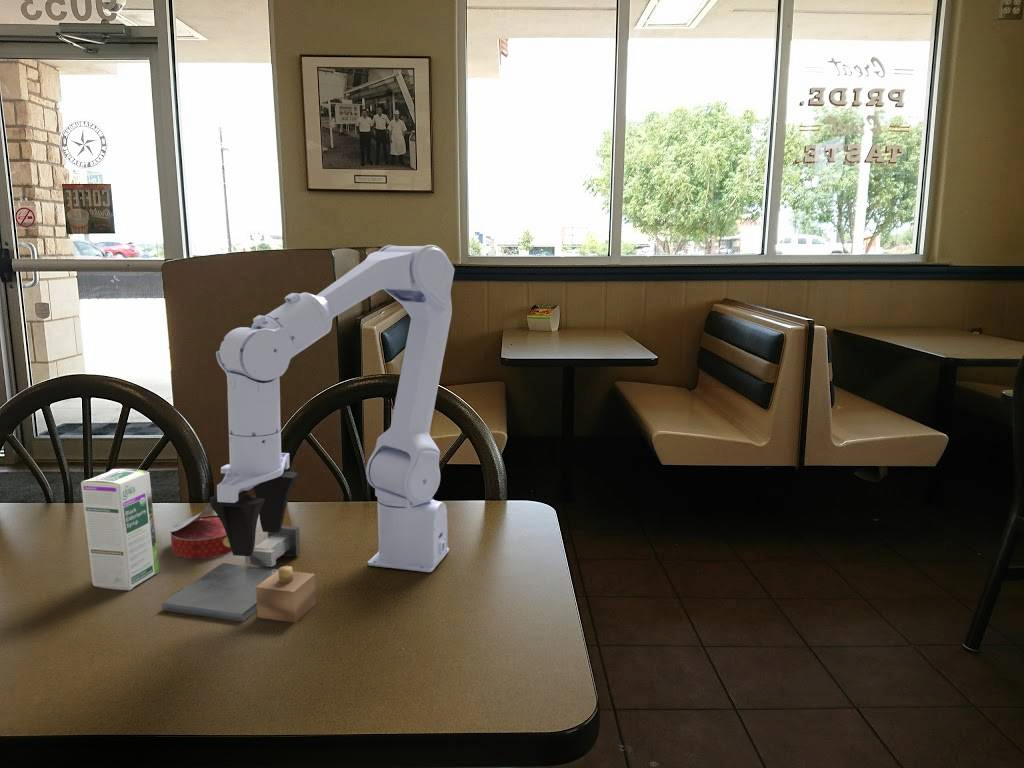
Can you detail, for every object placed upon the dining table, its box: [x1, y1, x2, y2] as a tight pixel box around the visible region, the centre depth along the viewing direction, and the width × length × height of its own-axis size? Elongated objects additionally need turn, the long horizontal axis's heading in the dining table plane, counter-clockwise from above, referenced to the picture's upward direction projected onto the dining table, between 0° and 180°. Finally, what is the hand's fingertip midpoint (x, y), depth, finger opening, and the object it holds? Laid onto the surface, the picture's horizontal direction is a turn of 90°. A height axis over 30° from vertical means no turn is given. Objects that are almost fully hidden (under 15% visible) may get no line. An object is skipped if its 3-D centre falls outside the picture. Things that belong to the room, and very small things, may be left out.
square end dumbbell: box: [244, 524, 301, 568], centre depth 102 cm, size 4×7×4 cm, turn 166°
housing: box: [256, 565, 317, 623], centre depth 89 cm, size 5×5×6 cm
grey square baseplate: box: [161, 562, 279, 623], centre depth 93 cm, size 11×12×1 cm
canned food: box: [169, 504, 232, 559], centre depth 108 cm, size 11×10×10 cm
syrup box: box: [80, 468, 160, 591], centre depth 96 cm, size 6×6×14 cm
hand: (257, 542), depth 87 cm, fingers open, 7 cm apart
